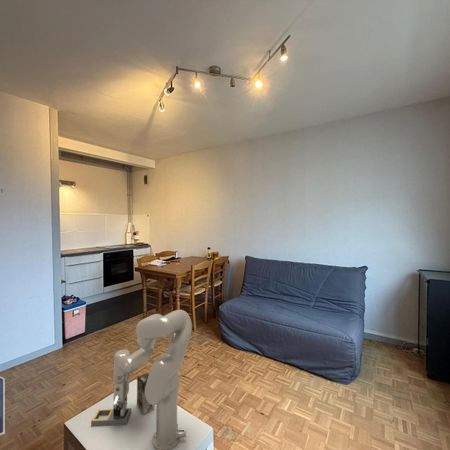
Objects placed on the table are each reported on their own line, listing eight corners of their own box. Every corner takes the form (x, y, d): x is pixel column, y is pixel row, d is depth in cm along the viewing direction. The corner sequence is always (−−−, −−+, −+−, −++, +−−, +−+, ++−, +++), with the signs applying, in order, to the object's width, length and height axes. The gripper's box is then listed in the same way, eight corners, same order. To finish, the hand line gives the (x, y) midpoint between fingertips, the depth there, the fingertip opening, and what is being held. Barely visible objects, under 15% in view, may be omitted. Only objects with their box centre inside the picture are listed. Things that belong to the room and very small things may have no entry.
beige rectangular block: (126, 415, 128) (127, 399, 128) (123, 422, 124) (124, 405, 124) (118, 416, 128) (118, 400, 128) (114, 422, 123) (115, 406, 123)
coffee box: (136, 406, 135) (136, 376, 135) (147, 400, 139) (147, 372, 140) (143, 415, 128) (143, 384, 129) (154, 409, 133) (155, 379, 133)
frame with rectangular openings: (131, 412, 130) (131, 407, 130) (126, 424, 122) (126, 419, 122) (98, 414, 129) (98, 409, 129) (91, 426, 121) (91, 421, 121)
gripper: (123, 386, 118) (122, 422, 117) (134, 366, 135) (133, 397, 135) (107, 386, 117) (106, 422, 117) (120, 366, 134) (119, 397, 134)
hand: (120, 408), depth 126 cm, fingers open, 9 cm apart
